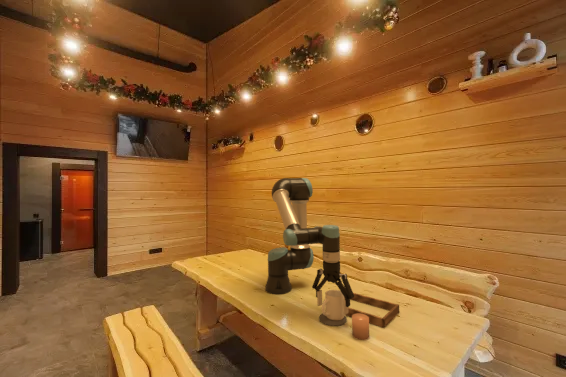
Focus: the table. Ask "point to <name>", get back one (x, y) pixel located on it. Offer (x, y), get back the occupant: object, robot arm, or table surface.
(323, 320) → the dark brown round mat
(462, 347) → the table surface
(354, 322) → the orange rounded cylinder
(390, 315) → the frame
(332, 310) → the mug
